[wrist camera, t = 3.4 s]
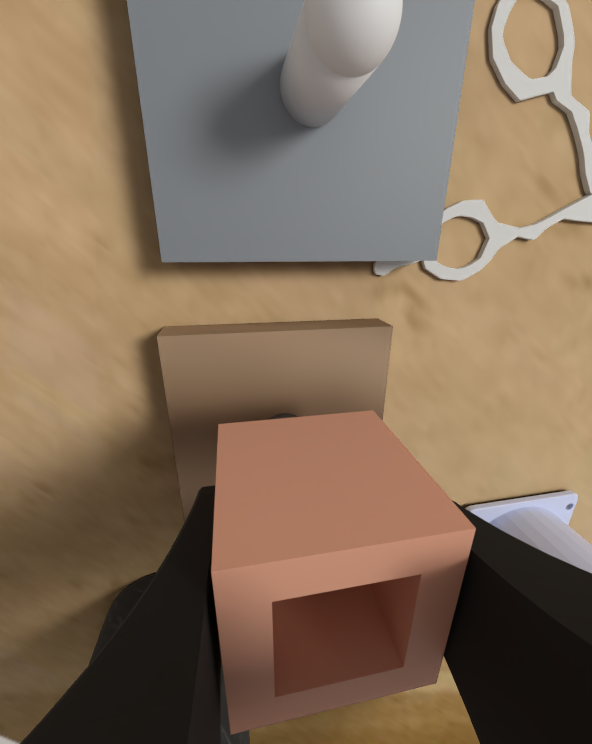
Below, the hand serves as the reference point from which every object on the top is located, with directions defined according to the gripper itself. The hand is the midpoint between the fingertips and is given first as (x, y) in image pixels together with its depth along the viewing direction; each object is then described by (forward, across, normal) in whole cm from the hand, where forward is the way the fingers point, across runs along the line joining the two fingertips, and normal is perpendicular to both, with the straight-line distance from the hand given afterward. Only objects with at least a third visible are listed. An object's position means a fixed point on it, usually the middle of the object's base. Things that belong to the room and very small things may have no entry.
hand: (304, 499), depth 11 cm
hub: (+5, -1, -12) cm, 13 cm away
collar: (+1, 0, 0) cm, 1 cm away
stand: (+6, 0, 0) cm, 6 cm away
